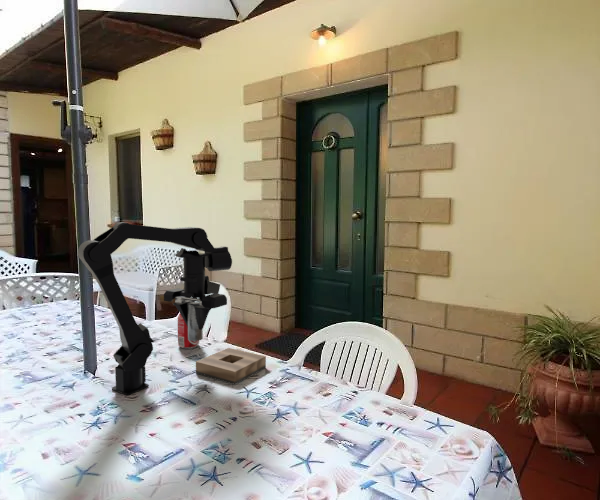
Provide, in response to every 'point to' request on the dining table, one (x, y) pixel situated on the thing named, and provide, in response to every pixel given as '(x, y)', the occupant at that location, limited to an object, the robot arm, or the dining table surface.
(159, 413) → the dining table surface
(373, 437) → the dining table surface
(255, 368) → the walnut block
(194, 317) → the metal pin
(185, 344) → the soda can
